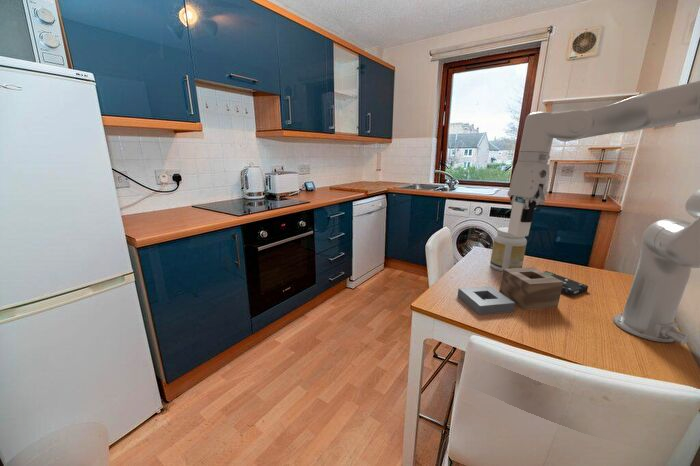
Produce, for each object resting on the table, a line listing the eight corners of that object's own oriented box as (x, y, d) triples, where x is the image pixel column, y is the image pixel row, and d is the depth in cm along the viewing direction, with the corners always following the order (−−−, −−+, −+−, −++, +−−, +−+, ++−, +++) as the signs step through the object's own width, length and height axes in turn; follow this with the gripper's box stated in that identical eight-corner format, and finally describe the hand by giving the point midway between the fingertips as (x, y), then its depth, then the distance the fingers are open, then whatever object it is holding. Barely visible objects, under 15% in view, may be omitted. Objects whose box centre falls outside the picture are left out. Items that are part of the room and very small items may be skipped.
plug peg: (528, 235, 87) (535, 200, 84) (516, 236, 87) (523, 200, 84) (518, 232, 91) (525, 198, 88) (507, 232, 90) (513, 198, 87)
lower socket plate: (513, 311, 89) (515, 302, 88) (478, 314, 87) (480, 305, 86) (488, 293, 100) (490, 285, 99) (457, 295, 98) (458, 287, 97)
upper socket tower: (557, 307, 92) (563, 281, 89) (524, 310, 90) (530, 284, 87) (528, 290, 103) (533, 267, 101) (499, 292, 101) (503, 268, 98)
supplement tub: (521, 266, 125) (528, 229, 120) (521, 276, 115) (529, 235, 110) (490, 260, 131) (496, 225, 126) (488, 269, 121) (494, 231, 116)
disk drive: (587, 292, 103) (545, 276, 116) (589, 285, 102) (546, 270, 115) (570, 298, 99) (528, 281, 112) (572, 291, 98) (530, 274, 111)
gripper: (569, 160, 75) (553, 227, 80) (523, 158, 91) (512, 214, 96) (544, 159, 74) (529, 227, 79) (502, 157, 90) (491, 214, 95)
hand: (520, 219), depth 88 cm, fingers closed on plug peg, 4 cm apart
